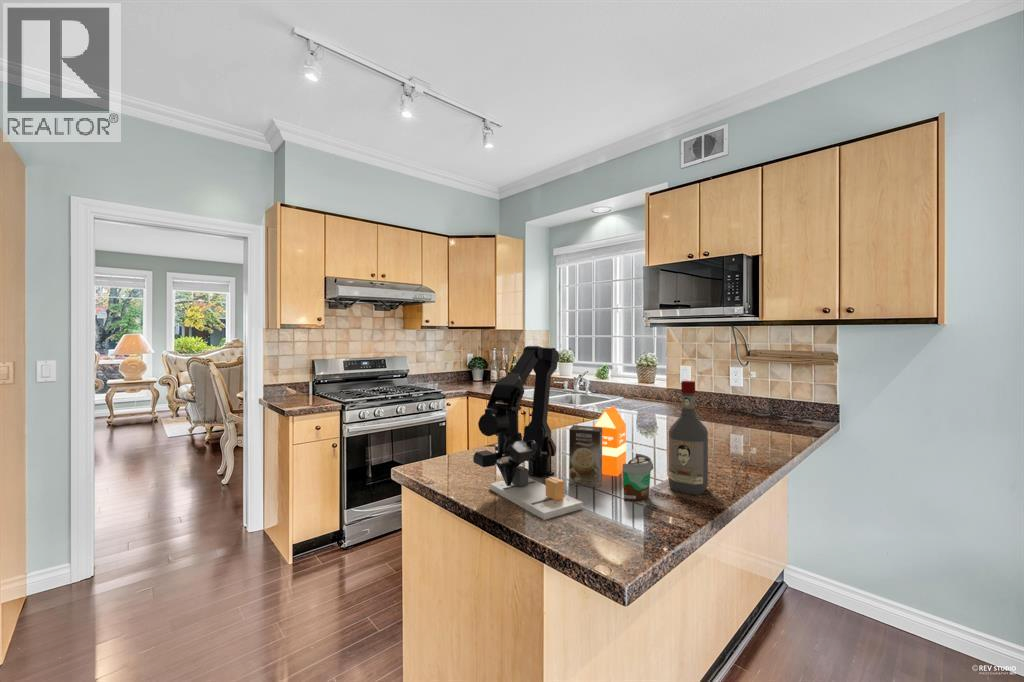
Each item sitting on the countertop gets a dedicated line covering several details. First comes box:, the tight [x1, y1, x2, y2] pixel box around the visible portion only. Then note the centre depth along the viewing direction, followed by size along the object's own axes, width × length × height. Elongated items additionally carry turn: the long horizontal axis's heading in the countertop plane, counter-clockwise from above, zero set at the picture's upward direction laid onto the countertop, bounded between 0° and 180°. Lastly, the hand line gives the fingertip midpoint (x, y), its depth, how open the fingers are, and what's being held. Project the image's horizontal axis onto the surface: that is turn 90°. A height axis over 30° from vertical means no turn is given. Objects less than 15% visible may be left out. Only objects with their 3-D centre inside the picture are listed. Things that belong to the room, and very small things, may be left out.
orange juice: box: [592, 406, 627, 477], centre depth 142 cm, size 8×9×20 cm
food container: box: [622, 453, 654, 503], centre depth 119 cm, size 12×6×10 cm, turn 148°
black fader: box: [512, 465, 529, 487], centre depth 124 cm, size 3×4×5 cm
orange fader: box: [544, 476, 565, 501], centre depth 114 cm, size 3×4×5 cm
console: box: [489, 476, 584, 521], centre depth 118 cm, size 12×25×2 cm, turn 33°
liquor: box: [668, 380, 709, 496], centre depth 125 cm, size 9×9×30 cm
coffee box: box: [568, 424, 603, 488], centre depth 131 cm, size 9×6×16 cm
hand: (508, 485), depth 122 cm, fingers closed
